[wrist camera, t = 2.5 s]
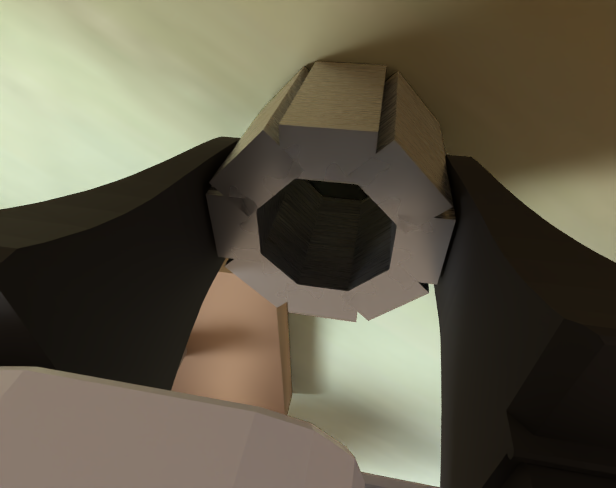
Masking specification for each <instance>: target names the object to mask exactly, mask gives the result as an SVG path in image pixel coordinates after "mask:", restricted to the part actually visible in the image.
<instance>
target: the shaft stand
mask: <svg viewBox="0 0 616 488" xmlns="http://www.w3.org/2000/svg"><path fill="white" fill-rule="evenodd" d="M228 259H229V258H226V259H225V260H224V262H223V264H222V266H221V268H220V270H219V272H218V273H217V275H216V277H215V279H214V281H213V283H212V285H211V287H210V288H209V290H208V293H207V295H206V297H205V299H204V301H203V303H202V306H201V308H200V311H199V313H198V316H197V319H196V321H195V324H194V326H193V329H192V331H191V334H190V337H189V340H188V342H187V345H186V348H185V351H184V353H183V356H182V359H181V362H180V365H179V368H178V371H177V374H176V377H175V380H174V383H173V386H172V389H171V391H175V392H180V393H186V394H191V395H197V396H202V397H208V398H214V399H219V400H225V401H230V402H236V403H241V404H247V405H252V406H258V407H262V408H265V409H268V410H271V411H275V412H278V413H281V414H284V415H287V414H288V409H289V405H290V401H291V397H292V384H291V366H290V347H289V328H288V309H287V302H286V303H284V304H282V305H281V306H279V307H275V306H274V305H273V304H272V303H270V302H269V301H268V300H267V299H265V298H264V297H263V296H261V295H260V294H259V293H258V292H256V291H255V290H254V289H253V288H251V287H250V286H249V285H247V284H246V283H245V282H244V281H242V280H241V279H240V278H239V277H237V276H236V275H235V274H233V273H232V272H231V271H230V270H228V269H227V268H226V267H225V264H226V262H227V261H228Z"/></svg>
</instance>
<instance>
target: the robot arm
mask: <svg viewBox="0 0 616 488" xmlns="http://www.w3.org/2000/svg"><path fill="white" fill-rule="evenodd" d="M240 139H241V138H233V137H218V138H215V139H212V140H210V141H207V142H205V143H203V144H200V145H198V146H196V147H194V148H192V149H190V150H188V151H186V152H183V153H181V154H179V155H177V156H175V157H173V158H171V159H169V160H166V161H164V162H162V163H160V164H157V165H155V166H153V167H150V168H148V169H146V170H143V171H141V172H139V173H136V174H134V175H131V176H129V177H126V178H124V179H121V180H118V181H115V182H112V183H109V184H106V185H103V186H100V187H97V188H94V189H91V190H87V191H84V192H80V193H76V194H72V195H68V196H64V197H60V198H56V199H52V200H48V201H44V202H39V203H34V204H29V205H24V206H19V207H13V208H7V209H1V210H0V488H616V263H615V262H613V261H611V260H610V259H608V258H606V257H604V256H602V255H600V254H598V253H596V252H595V251H593V250H591V249H589V248H588V247H586V246H584V245H582V244H581V243H579V242H577V241H576V240H574V239H573V238H571V237H570V236H568V235H567V234H565V233H563V232H562V231H560V230H559V229H557V228H556V227H554V226H553V225H551V224H550V223H548V222H547V221H546V220H544V219H543V218H542V217H540V216H539V215H538V214H536V213H535V212H534V211H533V210H531V209H530V208H529V207H527V206H526V205H525V204H524V203H522V202H521V201H520V200H519V199H518V198H516V197H515V196H514V195H513V194H512V193H511V192H510V191H508V190H507V189H506V188H505V187H504V186H503V185H502V184H501V183H500V182H498V181H497V180H496V179H495V178H494V177H493V176H492V175H491V174H490V173H489V172H488V171H487V170H486V169H485V168H484V167H482V166H481V165H480V164H479V163H478V162H477V161H476V160H474V159H473V158H472V157H465V156H452V155H446V156H445V161H446V167H447V173H448V180H449V184H450V187H451V193H452V200H453V206H454V212H455V218H456V221H455V225H454V228H453V232H452V235H451V239H450V242H449V245H448V249H447V252H446V256H445V259H444V263H443V266H442V270H441V273H440V276H439V280H438V283H437V284H434V288H435V295H436V302H437V309H438V316H439V325H440V336H441V398H442V416H441V477H440V487H435V486H430V485H425V484H420V483H415V482H410V481H405V480H400V479H394V478H389V477H384V476H379V475H374V474H369V473H364V472H361V471H360V469H359V466H358V464H357V462H356V459H355V457H354V456H353V455H352V453H351V452H350V451H349V450H348V448H347V447H346V446H344V445H343V444H341V443H340V442H338V441H337V440H335V439H334V438H332V437H331V436H329V435H328V434H326V433H325V432H323V431H322V430H321V429H319V428H318V427H316V426H315V425H313V424H312V423H310V422H306V421H303V420H300V419H297V418H294V417H290V416H287V415H284V414H281V413H278V412H275V411H271V410H268V409H265V408H262V407H258V406H252V405H247V404H241V403H236V402H230V401H225V400H219V399H214V398H208V397H202V396H197V395H191V394H186V393H180V392H175V391H171V389H172V386H173V383H174V380H175V377H176V374H177V371H178V368H179V365H180V362H181V359H182V356H183V353H184V351H185V348H186V345H187V342H188V340H189V337H190V334H191V331H192V329H193V326H194V324H195V321H196V319H197V316H198V313H199V311H200V308H201V306H202V303H203V301H204V299H205V297H206V295H207V293H208V290H209V288H210V287H211V285H212V283H213V281H214V279H215V277H216V275H217V273H218V272H219V270H220V268H221V266H222V264H223V262H224V260H225V259H226V258H224V257H218V254H217V249H216V244H215V239H214V234H213V229H212V224H211V219H210V214H209V208H208V203H207V198H206V193H207V192H208V190H209V189H210V187H211V186H212V185H211V184H210V183H209V182H210V180H211V179H212V178H213V176H214V175H215V174H216V172H217V171H218V169H219V168H220V167H221V165H222V164H223V162H224V161H225V160H226V158H227V157H228V155H229V154H230V153H231V151H232V150H233V149H234V147H235V146H236V144H237V143H238V142H239V140H240Z"/></svg>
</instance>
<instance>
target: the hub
mask: <svg viewBox="0 0 616 488" xmlns="http://www.w3.org/2000/svg"><path fill="white" fill-rule="evenodd" d="M385 74H386V65H377V64H357V63H338V62H319V61H316V62H315V64H314V65H313V67H312V69H311V70H310V72H309V70H308V69H307V68H306V67H305V66H304V67H303V68H302V69H301V70H300V71H299V72H298V73H297V74H296V75H295V76H294V77H293V78H292V79H291V80H290V81H289V82H288V83H287V84H286V85H285V86H284V87H283V88H282V89H281V90H280V91H279V92H278V93H277V94H276V95H275V96H274V97H273V98H272V100H271V101H270V102H269V103H268V104H267V105H266V106H265V107H264V108H263V109H262V110H261V111H260V112H259V114H258V115H257V117H256V118H255V119H254V121H253V122H252V123H251V125H250V126H249V128H248V129H247V130H246V132H245V133H244V135H243V136H242V137H241V139H240V140H239V142H238V143H237V144H236V146H235V147H234V149H233V150H232V151H231V153H230V154H229V155H228V157H227V158H226V160H225V161H224V162H223V164H222V165H221V167H220V168H219V169H218V171H217V172H216V174H215V175H214V176H213V178H212V179H211V180H210V182H209V183H210V184H211V185H212V186H211V187H210V189H209V190H208V192H207V193H206V198H207V203H208V208H209V214H210V219H211V224H212V229H213V234H214V239H215V244H216V249H217V254H218V257H224V258H229V259H228V261H227V262H226V264H225V267H226V268H227V269H228V270H230V271H231V272H232V273H233V274H235V275H236V276H237V277H239V278H240V279H241V280H242V281H244V282H245V283H246V284H247V285H249V286H250V287H251V288H253V289H254V290H255V291H256V292H258V293H259V294H260V295H261V296H263V297H264V298H265V299H267V300H268V301H269V302H270V303H272V304H273V305H274V306H275V307H279V306H281V305H282V304H284V303H286V302H288V312H289V313H296V314H303V315H310V316H317V317H324V318H331V319H338V320H345V321H352V322H356V319H357V311H358V312H359V313H360V314H361V315H362V316H363V317H365V318H366V319H367V320H368V321H369V320H371V319H373V318H375V317H378V316H380V315H382V314H384V313H386V312H389V311H391V310H393V309H395V308H397V307H399V306H402V305H404V304H406V303H408V302H410V301H413V300H415V299H417V298H419V297H421V296H424V295H426V294H428V293H429V286H428V283H429V284H437V283H438V280H439V276H440V273H441V270H442V266H443V263H444V259H445V256H446V252H447V249H448V245H449V242H450V239H451V235H452V232H453V228H454V225H455V221H456V218H455V212H454V206H453V200H452V193H451V187H450V184H449V180H448V173H447V167H446V161H445V150H444V143H443V137H442V134H441V129H440V123H439V122H438V120H437V119H436V118H435V117H434V115H433V114H432V113H431V112H430V110H429V109H428V108H427V107H426V105H425V104H424V103H423V102H422V100H421V99H420V98H419V97H418V95H417V94H416V93H415V92H414V90H413V89H412V88H411V86H410V85H409V84H408V83H407V81H406V80H405V79H404V78H403V76H402V75H401V74H400V73H399V71H397V72H396V73H395V74H394V75H393V76H391V77H390V78H389V79H388V80H387V81H386V82H385ZM305 179H306V180H316V181H327V182H337V183H348V184H358V185H359V186H360V187H361V188H362V190H363V191H364V192H365V193H366V194H367V195H368V197H366V198H365V199H363V200H362V201H360V200H350V199H340V198H330V197H323V196H322V195H321V194H320V193H319V192H318V191H317V190H316V189H315V188H314V187H313V186H311V185H310V184H309V183H308V182H307V181H306V180H305Z"/></svg>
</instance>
